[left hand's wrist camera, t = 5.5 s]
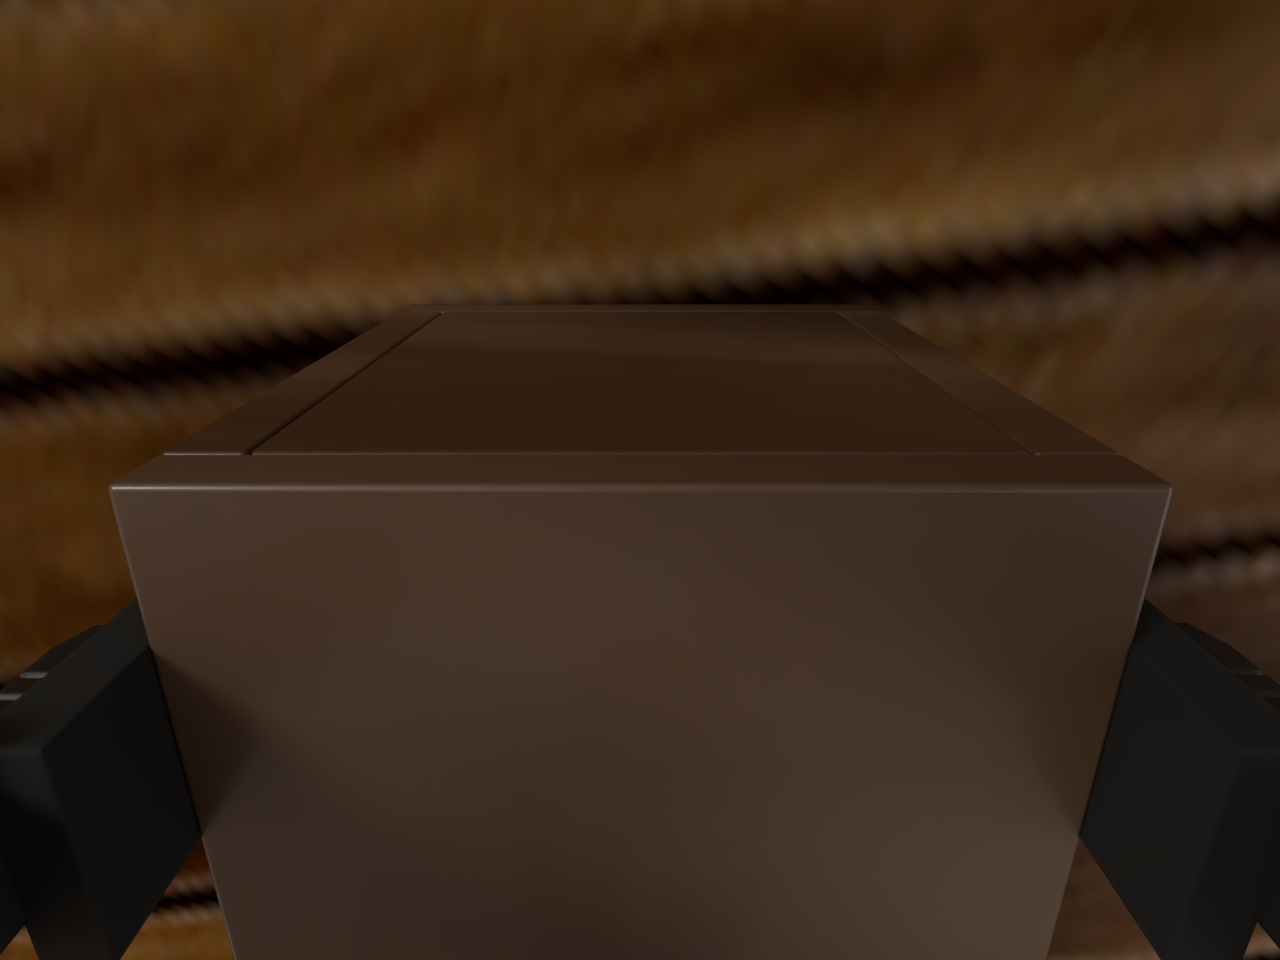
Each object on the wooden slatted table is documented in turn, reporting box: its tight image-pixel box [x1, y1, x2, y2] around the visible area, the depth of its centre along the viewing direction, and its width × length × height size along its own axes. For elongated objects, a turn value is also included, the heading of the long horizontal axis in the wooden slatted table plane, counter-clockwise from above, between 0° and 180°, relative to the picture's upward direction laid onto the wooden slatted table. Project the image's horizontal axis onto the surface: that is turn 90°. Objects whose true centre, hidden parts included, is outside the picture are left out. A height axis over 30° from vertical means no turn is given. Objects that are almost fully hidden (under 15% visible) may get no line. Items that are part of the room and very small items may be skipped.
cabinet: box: [109, 305, 1173, 960], centre depth 16 cm, size 16×11×11 cm, turn 0°
